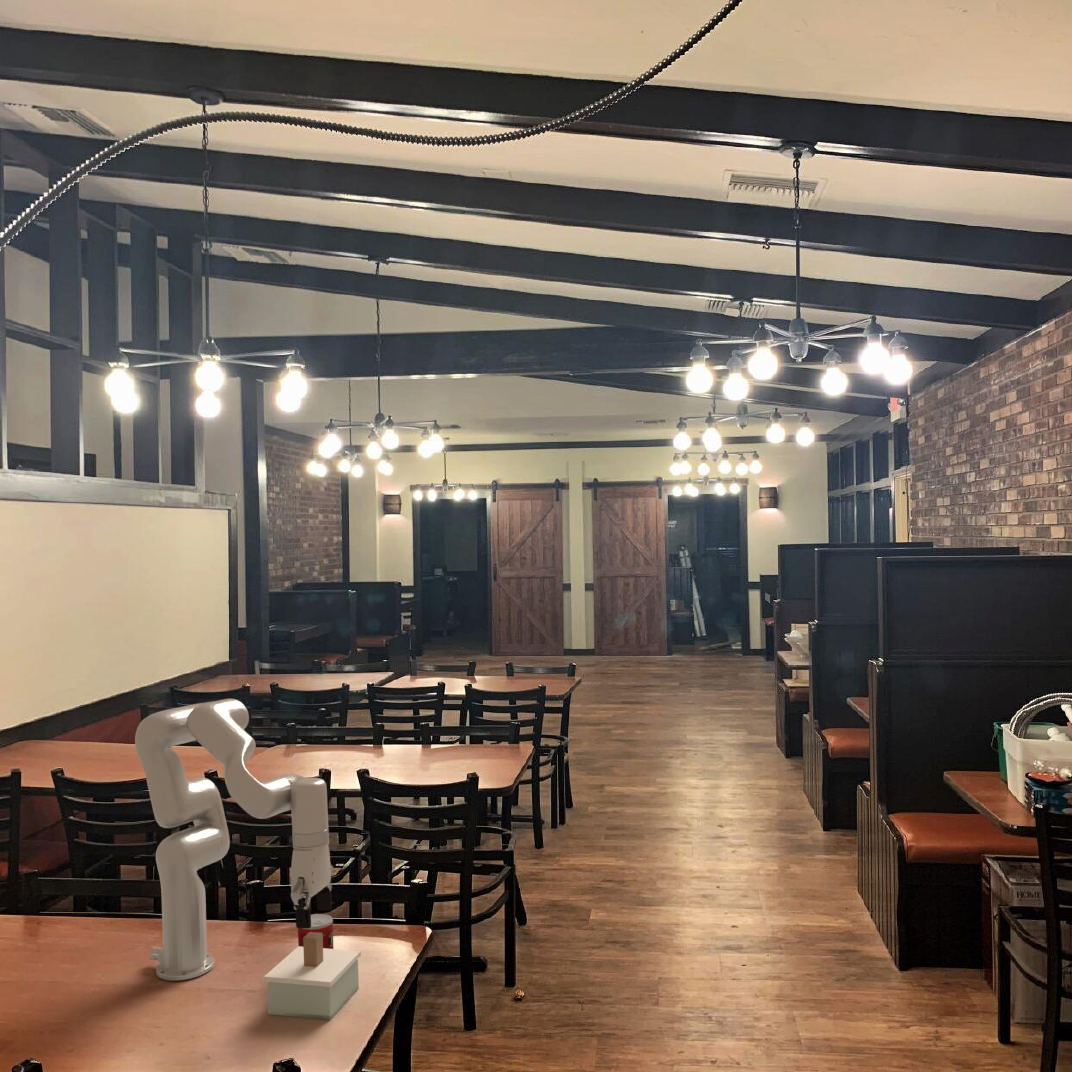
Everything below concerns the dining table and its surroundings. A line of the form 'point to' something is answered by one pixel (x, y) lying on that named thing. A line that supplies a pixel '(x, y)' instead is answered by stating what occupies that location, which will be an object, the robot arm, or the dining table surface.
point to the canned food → (319, 929)
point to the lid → (313, 964)
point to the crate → (312, 997)
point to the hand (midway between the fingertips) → (314, 918)
